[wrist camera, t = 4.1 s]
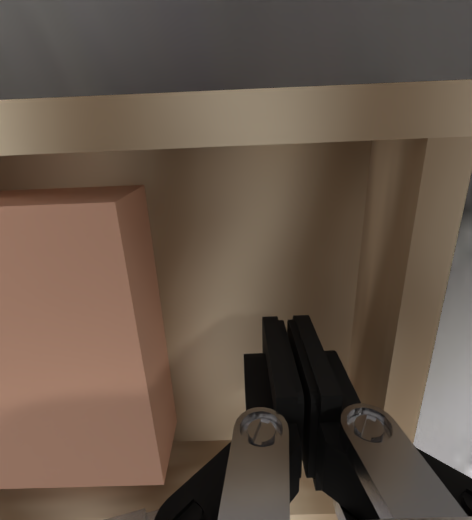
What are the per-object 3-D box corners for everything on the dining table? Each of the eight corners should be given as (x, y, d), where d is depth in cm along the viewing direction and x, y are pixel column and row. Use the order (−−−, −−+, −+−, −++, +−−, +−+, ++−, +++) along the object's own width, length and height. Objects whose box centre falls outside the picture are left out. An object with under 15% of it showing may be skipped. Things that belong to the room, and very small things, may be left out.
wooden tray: (402, 96, 11) (491, 78, 7) (358, 440, 17) (394, 531, 13) (-117, 118, 12) (-299, 112, 8) (13, 449, 17) (-51, 542, 13)
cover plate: (144, 184, 12) (114, 201, 9) (177, 421, 16) (164, 484, 13) (-81, 193, 12) (-181, 213, 9) (9, 426, 16) (-41, 490, 13)
